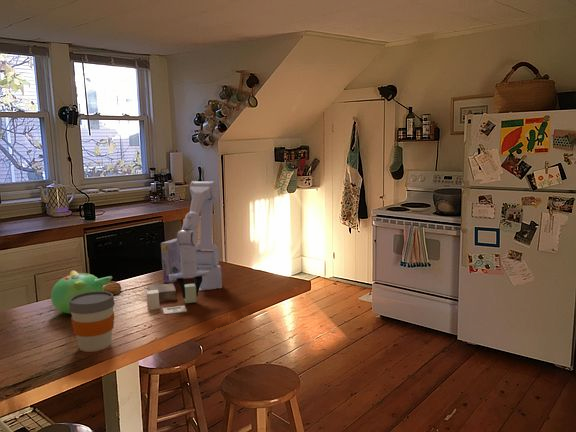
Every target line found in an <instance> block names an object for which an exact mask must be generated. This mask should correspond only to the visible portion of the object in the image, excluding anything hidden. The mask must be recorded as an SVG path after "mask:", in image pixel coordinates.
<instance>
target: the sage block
mask: <svg viewBox="0 0 576 432" xmlns="http://www.w3.org/2000/svg"><path fill="white" fill-rule="evenodd" d="M184 288H185V298H183V300H184V303H185V304H191V303H197V297H196V286H195V283H187V284H185V283H184Z"/></svg>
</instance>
